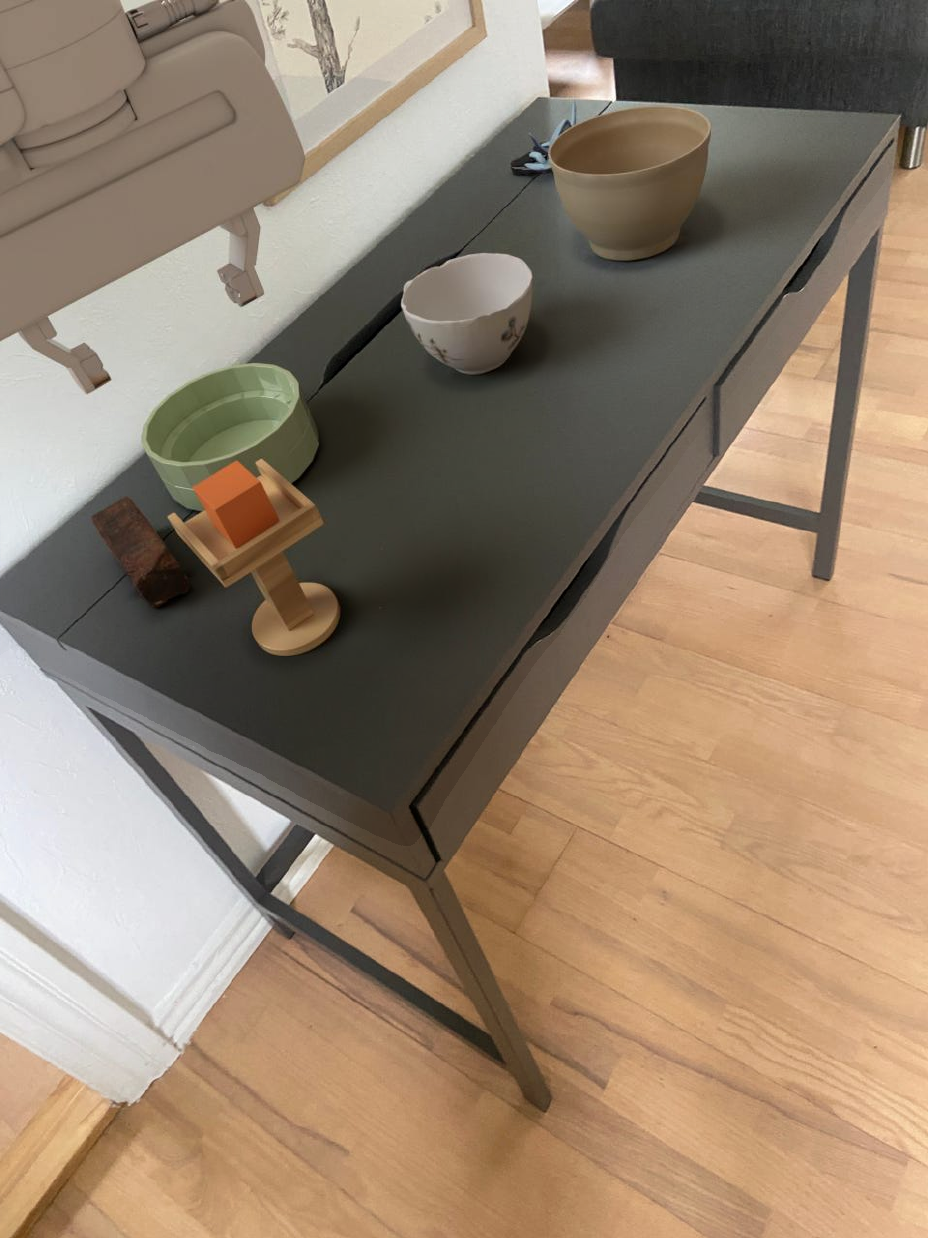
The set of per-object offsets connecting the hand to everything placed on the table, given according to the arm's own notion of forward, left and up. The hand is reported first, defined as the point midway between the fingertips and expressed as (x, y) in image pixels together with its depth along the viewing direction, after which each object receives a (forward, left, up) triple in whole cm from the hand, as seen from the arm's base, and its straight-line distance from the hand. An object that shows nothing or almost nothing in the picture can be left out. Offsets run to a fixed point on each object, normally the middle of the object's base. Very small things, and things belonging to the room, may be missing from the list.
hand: (173, 340), depth 49 cm
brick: (-22, +3, -27) cm, 35 cm away
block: (-5, +2, -17) cm, 17 cm away
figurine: (-14, +78, -27) cm, 84 cm away
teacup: (-7, +38, -27) cm, 48 cm away
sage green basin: (-22, +18, -27) cm, 39 cm away
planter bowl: (+2, +61, -27) cm, 67 cm away
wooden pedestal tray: (-5, +2, -27) cm, 28 cm away
